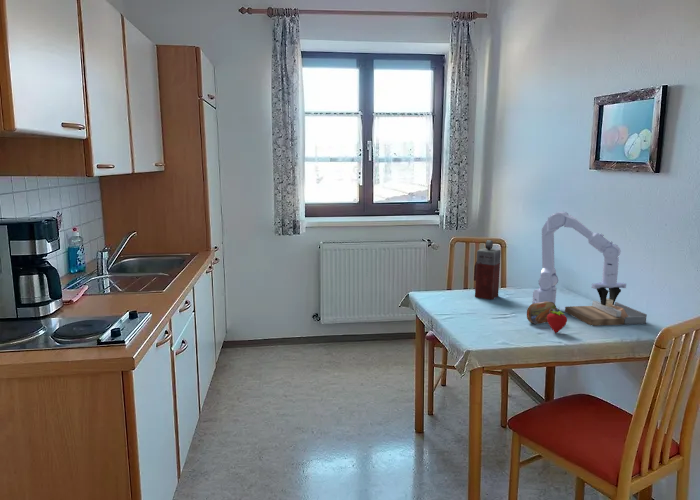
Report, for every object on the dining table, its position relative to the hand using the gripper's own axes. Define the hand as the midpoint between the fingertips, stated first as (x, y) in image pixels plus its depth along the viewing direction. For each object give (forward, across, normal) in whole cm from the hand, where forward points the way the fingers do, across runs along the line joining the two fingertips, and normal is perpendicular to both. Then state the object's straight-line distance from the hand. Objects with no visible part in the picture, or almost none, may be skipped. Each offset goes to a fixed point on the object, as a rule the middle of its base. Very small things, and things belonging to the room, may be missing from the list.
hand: (607, 304), depth 227 cm
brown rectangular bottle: (+6, -38, +41) cm, 56 cm away
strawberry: (+6, -32, -17) cm, 37 cm away
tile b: (+3, +3, +4) cm, 6 cm away
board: (+6, -6, 0) cm, 8 cm away
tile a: (+3, +3, -4) cm, 6 cm away
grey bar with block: (+3, 0, 0) cm, 3 cm away
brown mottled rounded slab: (+6, -31, -3) cm, 32 cm away
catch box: (+6, +6, 0) cm, 9 cm away
